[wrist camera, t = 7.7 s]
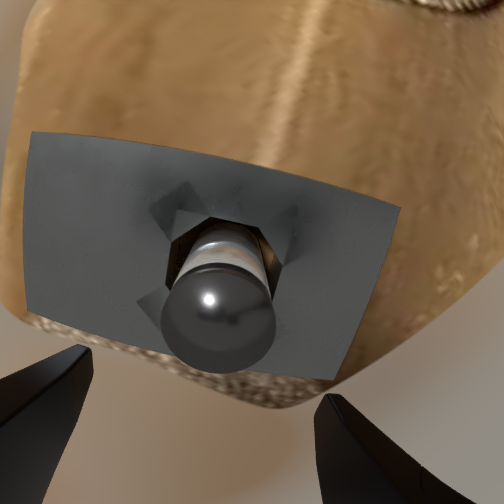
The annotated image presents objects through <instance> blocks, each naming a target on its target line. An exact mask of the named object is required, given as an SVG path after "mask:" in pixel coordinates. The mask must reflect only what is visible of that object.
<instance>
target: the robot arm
mask: <svg viewBox="0 0 504 504" xmlns="http://www.w3.org/2000/svg"><path fill="white" fill-rule="evenodd" d="M93 372H94V370H93V358H92V351H91V349H90V348H89V347H86V346H83V345H79V344H77V345H74V346H72V347H70V348H68V349H66V350H63V351H61V352H59V353H57V354H55V355H52V356H50V357H48V358H46V359H44V360H41V361H39V362H37V363H35V364H33V365H31V366H28V367H26V368H24V369H22V370H19V371H17V372H15V373H13V374H10V375H8V376H6V377H4V378H2V379H0V504H42V502H43V499H44V497H45V494H46V492H47V489H48V487H49V484H50V482H51V479H52V477H53V474H54V472H55V470H56V468H57V465H58V463H59V461H60V458H61V456H62V454H63V451H64V449H65V447H66V445H67V443H68V441H69V438H70V436H71V434H72V432H73V430H74V428H75V426H76V423H77V421H78V418H79V415H80V412H81V409H82V406H83V403H84V401H85V398H86V395H87V392H88V389H89V386H90V383H91V381H92V378H93ZM314 431H315V451H316V465H317V472H318V478H319V483H320V489H321V495H322V501H323V504H476V503H474V502H473V501H471V500H469V499H468V498H466V497H464V496H463V495H461V494H460V493H458V492H456V491H455V490H453V489H452V488H451V487H449V486H448V485H446V484H445V483H443V482H442V481H440V480H439V479H438V478H437V477H435V476H434V475H433V474H431V473H430V472H429V471H428V470H427V469H425V468H424V467H423V466H421V464H419V463H418V462H417V461H416V460H415V459H413V458H412V457H411V456H410V455H409V454H407V453H406V452H405V451H404V450H403V449H402V448H400V447H399V446H398V445H397V444H396V443H394V442H393V441H392V440H391V439H390V438H389V437H387V436H386V435H385V434H384V433H383V432H382V431H381V430H380V429H378V428H377V427H376V426H375V425H374V424H373V423H372V422H370V421H369V420H368V419H367V418H365V416H364V415H363V414H361V413H360V412H359V411H358V410H357V409H356V408H355V407H354V406H353V405H351V404H350V403H349V402H348V401H347V400H346V399H345V398H344V397H343V396H341V395H340V394H331V393H328V394H325V396H324V397H323V399H322V401H321V403H320V404H319V406H318V408H317V410H316V412H315V415H314Z"/></svg>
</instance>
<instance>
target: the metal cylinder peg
mask: <svg viewBox="0 0 504 504" xmlns="http://www.w3.org/2000/svg"><path fill="white" fill-rule="evenodd" d="M160 325H161V331H162V335H163V338H164V340H165V342H166V344H167V346H168V347H169V349H170V350H171V351H172V352H173V354H174V355H175V356H176V357H177V358H179V359H180V360H181V361H183V362H184V363H186V364H187V365H189V366H191V367H193V368H195V369H198V370H201V371H205V372H209V373H219V374H224V373H233V372H237V371H241V370H244V369H246V368H249V367H250V366H252V365H254V364H256V363H257V362H258V361H260V360H261V359H262V358H263V357H264V356H265V355H266V353H267V352H268V351H269V349H270V348H271V346H272V344H273V342H274V339H275V335H276V318H275V314H274V309H273V305H272V300H271V295H270V291H269V286H268V282H267V277H266V273H265V268H264V264H263V259H262V255H261V250H260V246H259V243H258V241H257V239H256V238H255V236H254V235H253V234H252V233H251V232H250V231H249V230H248V229H246V228H245V227H243V226H241V225H239V224H235V223H230V222H223V223H217V224H214V225H211V226H210V227H208V228H206V229H205V230H204V231H203V232H202V233H200V235H199V236H198V237H197V239H196V241H195V243H194V245H193V247H192V249H191V251H190V253H189V255H188V257H187V259H186V261H185V263H184V265H183V267H182V269H181V271H180V273H179V275H178V277H177V279H176V281H175V283H174V285H173V287H172V289H171V291H170V293H169V295H168V297H167V299H166V301H165V303H164V306H163V309H162V312H161V319H160Z"/></svg>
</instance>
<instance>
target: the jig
mask: <svg viewBox="0 0 504 504" xmlns="http://www.w3.org/2000/svg"><path fill="white" fill-rule="evenodd" d="M400 209H401V207H398V206H396V205H393V204H390V203H387V202H385V201H382V200H379V199H376V198H373V197H370V196H367V195H364V194H361V193H357V192H354V191H351V190H348V189H344V188H341V187H338V186H334V185H331V184H327V183H324V182H320V181H317V180H313V179H310V178H306V177H302V176H299V175H295V174H291V173H287V172H283V171H279V170H275V169H271V168H267V167H263V166H259V165H255V164H250V163H246V162H241V161H237V160H232V159H228V158H223V157H218V156H213V155H209V154H204V153H198V152H193V151H188V150H182V149H177V148H171V147H165V146H159V145H153V144H147V143H140V142H133V141H126V140H119V139H111V138H103V137H95V136H85V135H76V134H65V133H50V132H32V133H31V139H30V146H29V153H28V160H27V168H26V178H25V190H24V206H23V265H24V281H25V293H26V302H27V311H29V312H32V313H35V314H37V315H40V316H42V317H45V318H48V319H50V320H53V321H56V322H59V323H61V324H64V325H67V326H70V327H73V328H76V329H79V330H82V331H85V332H88V333H91V334H94V335H98V336H101V337H104V338H107V339H111V340H114V341H118V342H121V343H125V344H128V345H132V346H136V347H139V348H143V349H147V350H151V351H155V352H159V353H163V354H167V355H172V356H175V355H174V354H173V352H172V351H171V350H170V349H169V347H168V346H167V344H166V342H165V340H164V338H163V335H162V331H161V325H160V319H161V312H162V309H163V306H164V303H165V301H166V299H167V297H168V295H169V293H170V291H171V289H172V287H173V285H174V283H175V281H176V279H177V277H178V275H179V273H180V269H179V268H178V266H177V265H176V263H177V256H178V250H179V244H180V239H181V235H183V234H184V233H186V232H187V231H189V230H190V229H192V228H193V227H195V226H196V225H198V224H199V223H201V222H203V221H204V220H206V219H207V218H209V217H215V218H219V219H224V220H229V221H233V222H238V223H242V224H247V225H251V226H256V227H259V229H260V230H261V232H262V234H263V235H264V237H265V238H266V240H267V242H268V243H269V245H270V246H271V248H272V250H273V251H274V253H275V254H274V257H273V261H272V265H271V268H270V272H269V276H268V279H267V282H268V286H269V291H270V295H271V300H272V305H273V309H274V314H275V318H276V335H275V339H274V342H273V344H272V346H271V348H270V349H269V351H268V352H267V353H266V355H265V356H264V357H263V358H262V359H261V360H260V361H258V362H257V363H256V364H254V365H252V366H250V367H249V368H246V369H244V370H249V371H256V372H263V373H270V374H277V375H285V376H293V377H302V378H312V379H323V380H334V378H335V376H336V374H337V372H338V370H339V368H340V366H341V364H342V362H343V360H344V358H345V356H346V353H347V351H348V349H349V347H350V345H351V343H352V340H353V338H354V336H355V333H356V331H357V329H358V327H359V324H360V322H361V319H362V317H363V315H364V312H365V310H366V307H367V305H368V302H369V300H370V297H371V295H372V292H373V290H374V287H375V284H376V282H377V279H378V276H379V273H380V271H381V268H382V265H383V262H384V259H385V257H386V254H387V251H388V248H389V245H390V242H391V239H392V235H393V232H394V229H395V226H396V223H397V219H398V216H399V213H400Z"/></svg>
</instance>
